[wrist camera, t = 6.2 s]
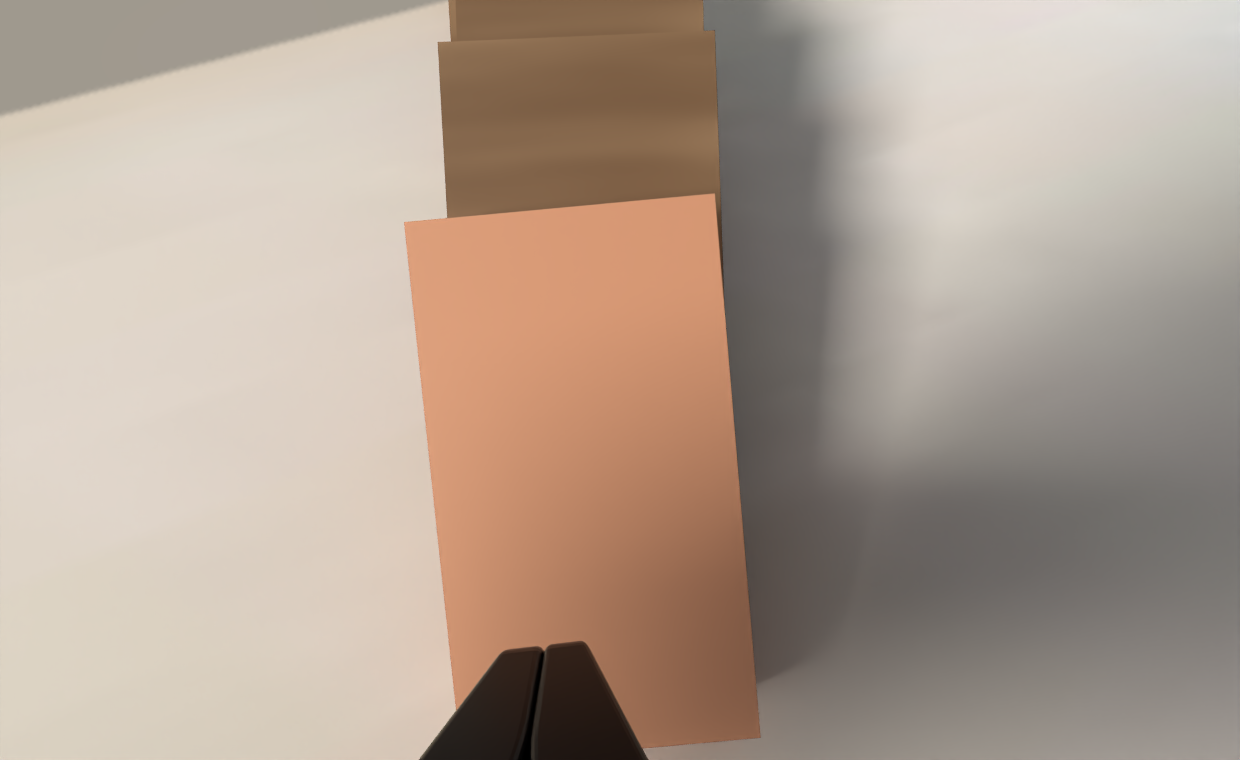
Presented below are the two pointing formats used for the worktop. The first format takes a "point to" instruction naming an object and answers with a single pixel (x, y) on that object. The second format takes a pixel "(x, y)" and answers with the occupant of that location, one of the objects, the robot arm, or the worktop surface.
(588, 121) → the walnut domino
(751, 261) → the worktop surface
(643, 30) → the walnut domino
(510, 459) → the terracotta domino
